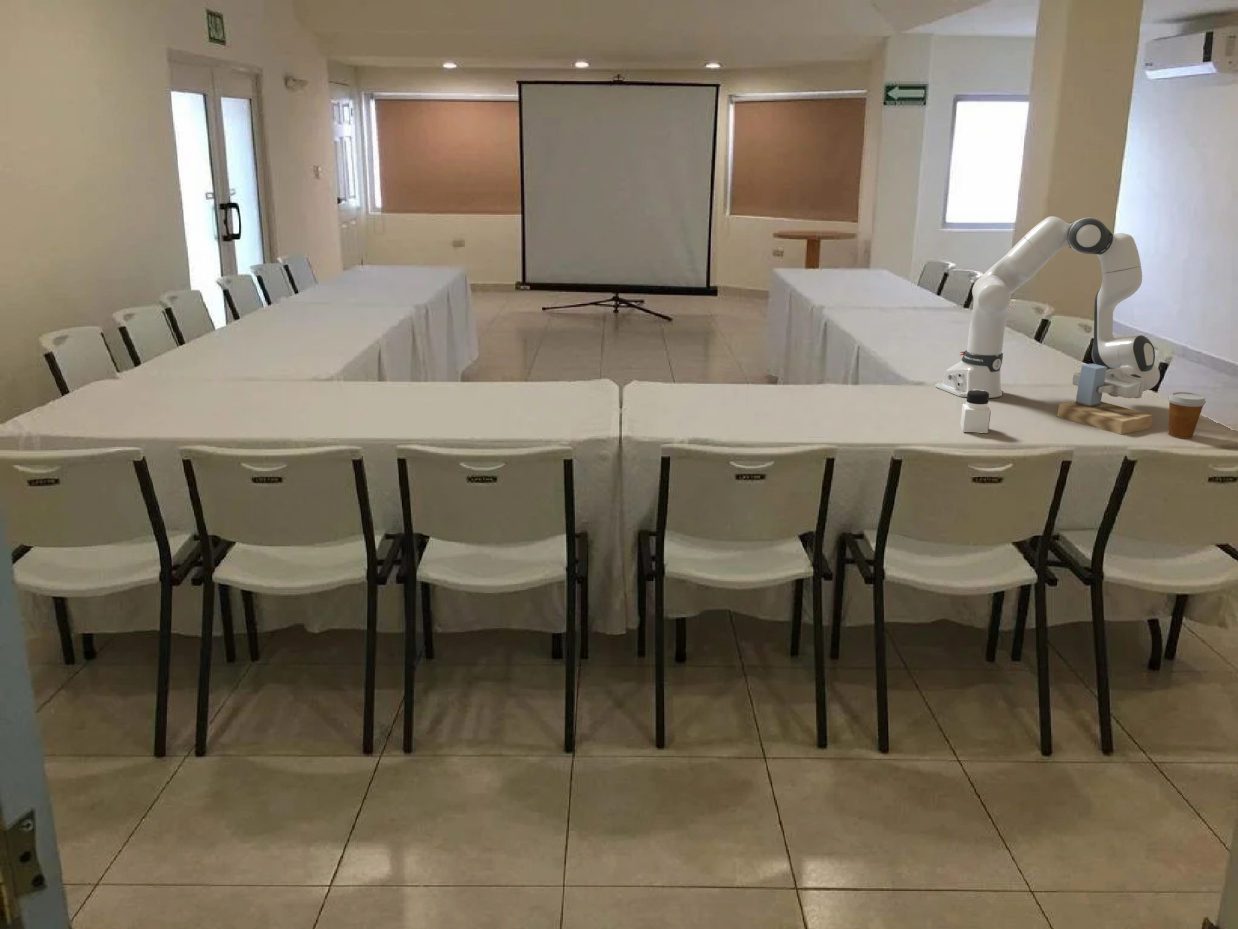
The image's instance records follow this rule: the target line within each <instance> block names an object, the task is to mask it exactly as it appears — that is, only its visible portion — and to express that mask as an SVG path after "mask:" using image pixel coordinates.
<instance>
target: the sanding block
mask: <svg viewBox="0 0 1238 929" xmlns="http://www.w3.org/2000/svg"><path fill="white" fill-rule="evenodd" d="M1107 371H1108V370H1107V367H1105V366H1101V365H1097V364H1095V363H1094V362H1093V363H1087V364H1081V369H1080V372H1079V373H1080V379H1079V385H1078V386H1077V393H1076V397H1075V402H1076V403H1077V404H1081V405H1084V406H1087V407H1092V406H1098V405H1100V403H1101V402H1102V398H1103V393H1099V392H1096V387H1097V386H1104V381H1105V376H1106V372H1107Z"/></svg>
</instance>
